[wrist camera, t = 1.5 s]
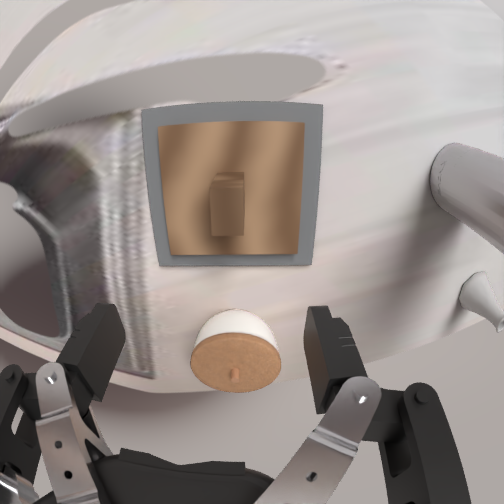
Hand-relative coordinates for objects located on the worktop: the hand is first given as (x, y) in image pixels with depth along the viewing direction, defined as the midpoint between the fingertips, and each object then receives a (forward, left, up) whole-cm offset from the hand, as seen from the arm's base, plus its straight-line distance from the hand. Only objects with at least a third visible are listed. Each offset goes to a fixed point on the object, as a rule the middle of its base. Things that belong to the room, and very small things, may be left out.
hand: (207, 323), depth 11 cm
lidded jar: (0, +19, -20) cm, 28 cm away
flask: (-40, +15, -20) cm, 47 cm away
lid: (0, 0, -20) cm, 20 cm away
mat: (0, 0, -20) cm, 20 cm away
